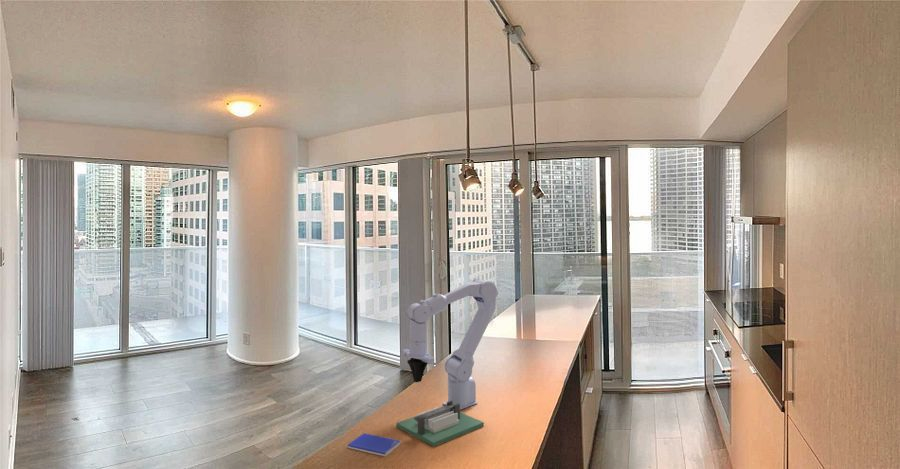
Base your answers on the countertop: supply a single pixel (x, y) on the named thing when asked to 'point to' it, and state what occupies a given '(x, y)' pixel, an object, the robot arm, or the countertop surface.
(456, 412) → the heatsink board
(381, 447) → the hard drive
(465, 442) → the countertop surface
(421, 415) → the long grey plank
